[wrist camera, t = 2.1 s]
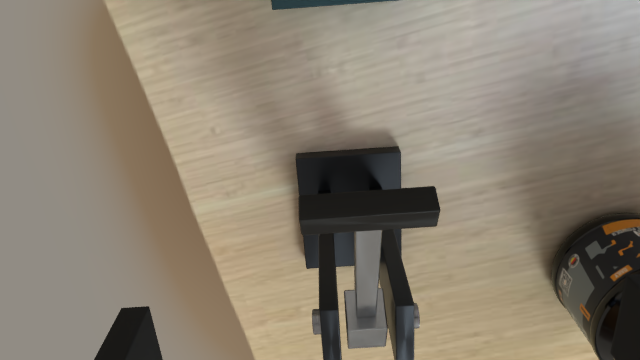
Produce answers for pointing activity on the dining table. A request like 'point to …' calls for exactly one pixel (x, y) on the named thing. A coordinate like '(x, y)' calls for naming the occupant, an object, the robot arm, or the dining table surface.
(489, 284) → the dining table surface
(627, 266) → the supplement container
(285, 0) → the button block
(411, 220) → the press lever
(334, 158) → the lever bracket
